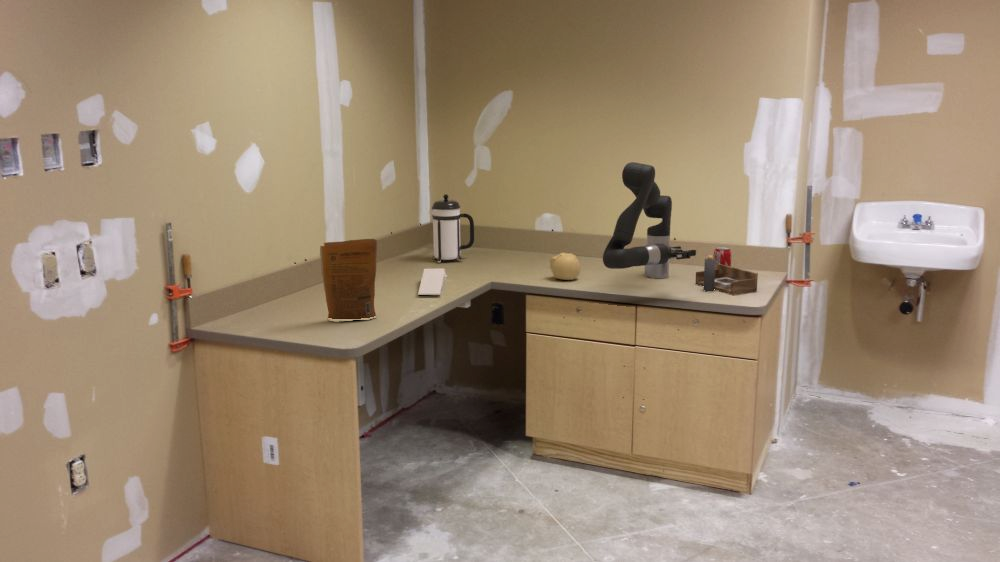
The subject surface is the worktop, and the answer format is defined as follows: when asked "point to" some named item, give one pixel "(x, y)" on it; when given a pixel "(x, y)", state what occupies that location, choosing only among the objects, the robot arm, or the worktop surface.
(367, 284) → the pancake mix bag
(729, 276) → the bay
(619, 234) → the robot arm
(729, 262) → the soda can
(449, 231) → the coffee press
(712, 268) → the tall grey cylinder
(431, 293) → the white boxy piece
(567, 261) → the tan round lump
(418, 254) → the worktop surface
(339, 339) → the worktop surface
